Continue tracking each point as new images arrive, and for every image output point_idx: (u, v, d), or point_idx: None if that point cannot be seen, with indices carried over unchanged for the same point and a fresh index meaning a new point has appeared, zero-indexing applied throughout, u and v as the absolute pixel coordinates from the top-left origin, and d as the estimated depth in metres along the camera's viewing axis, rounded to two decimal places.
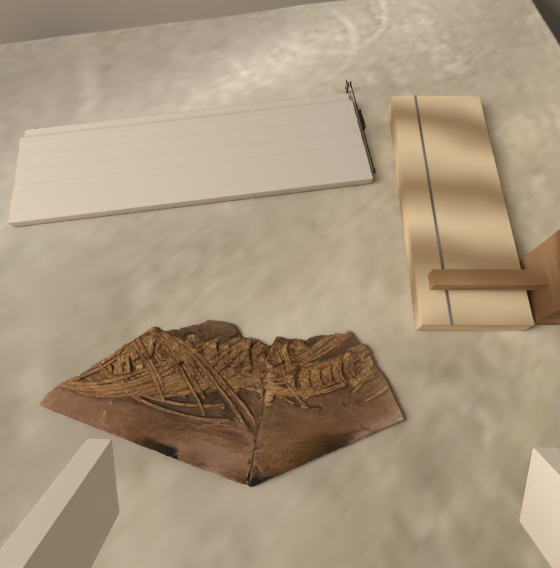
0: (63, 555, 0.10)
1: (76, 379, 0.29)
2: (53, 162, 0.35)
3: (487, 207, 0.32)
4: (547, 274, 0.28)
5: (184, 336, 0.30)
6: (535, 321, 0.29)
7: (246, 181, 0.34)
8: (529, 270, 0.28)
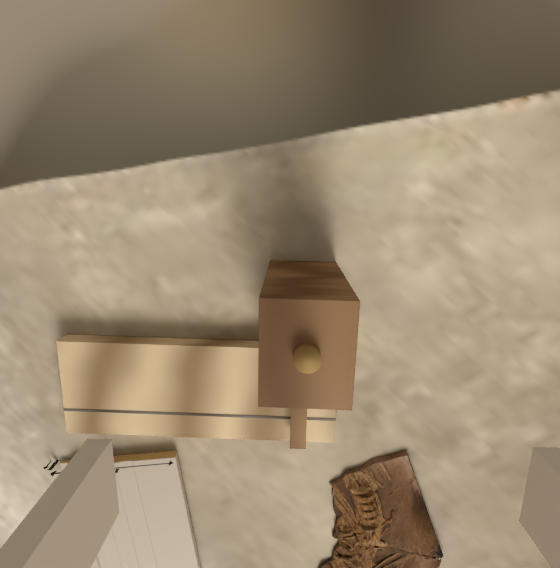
0: (63, 555, 0.10)
1: None
2: None
3: (211, 364, 0.31)
4: None
5: None
6: None
7: (182, 561, 0.36)
8: None
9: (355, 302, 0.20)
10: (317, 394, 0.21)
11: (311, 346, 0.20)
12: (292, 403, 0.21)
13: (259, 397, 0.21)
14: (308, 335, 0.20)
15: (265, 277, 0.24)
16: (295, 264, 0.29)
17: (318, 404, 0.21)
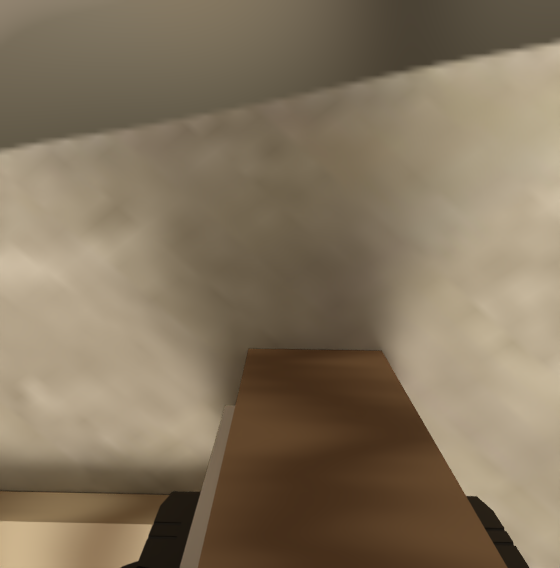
0: None
1: None
2: None
3: (134, 555, 0.15)
4: None
5: None
6: None
7: None
8: None
9: None
10: None
11: None
12: None
13: None
14: None
15: (223, 457, 0.09)
16: (300, 367, 0.13)
17: None
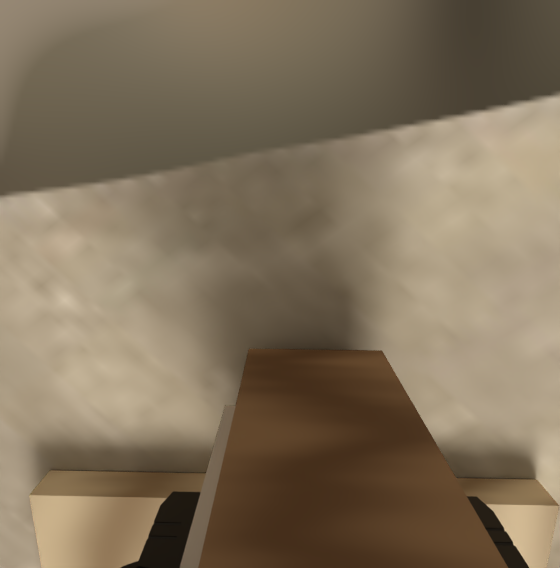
0: None
1: None
2: None
3: None
4: None
5: None
6: None
7: None
8: None
9: None
10: None
11: None
12: None
13: None
14: None
15: (224, 457, 0.09)
16: (300, 367, 0.13)
17: None
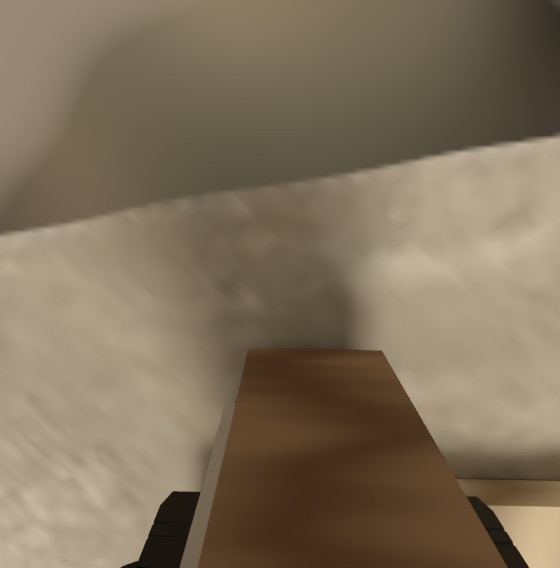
0: None
1: None
2: None
3: None
4: None
5: None
6: None
7: None
8: None
9: None
10: None
11: None
12: None
13: None
14: None
15: (223, 457, 0.09)
16: (300, 366, 0.13)
17: None
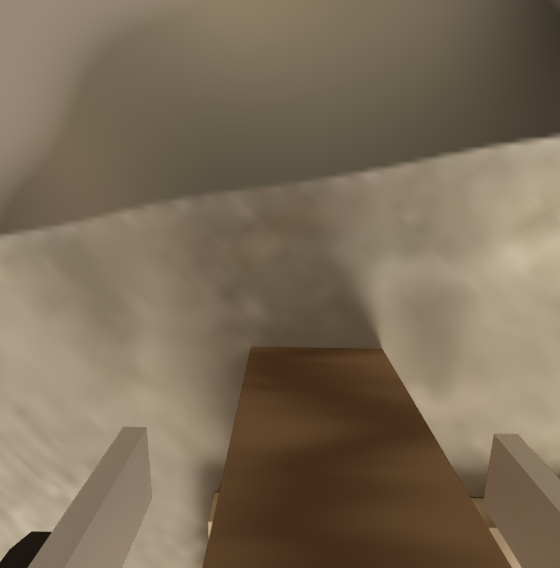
0: (110, 533, 0.10)
1: None
2: None
3: None
4: None
5: None
6: None
7: None
8: None
9: None
10: None
11: None
12: None
13: None
14: None
15: (228, 451, 0.09)
16: (302, 364, 0.14)
17: None
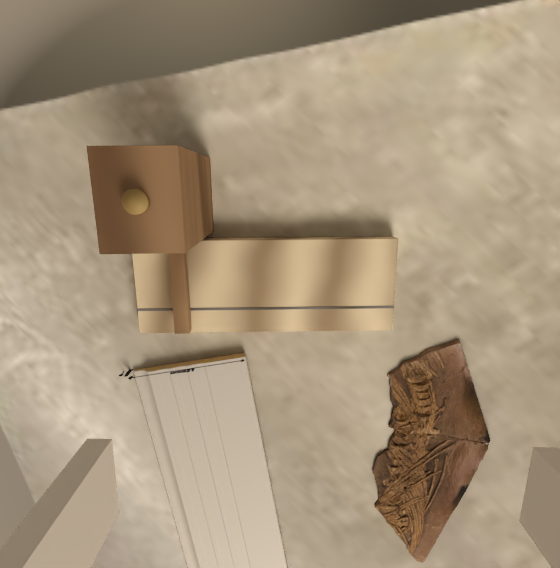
0: (63, 555, 0.10)
1: (409, 546, 0.42)
2: None
3: (278, 257, 0.33)
4: None
5: (384, 486, 0.40)
6: (212, 231, 0.33)
7: (252, 460, 0.38)
8: None
9: (174, 146, 0.22)
10: (152, 239, 0.23)
11: (138, 189, 0.22)
12: (131, 249, 0.23)
13: (100, 244, 0.23)
14: (136, 181, 0.22)
15: None
16: None
17: (154, 248, 0.23)
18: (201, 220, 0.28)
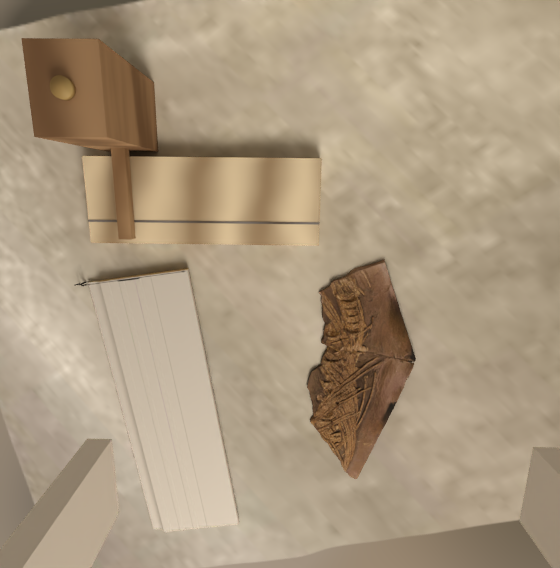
0: (63, 555, 0.10)
1: (343, 462, 0.45)
2: (185, 506, 0.46)
3: (213, 174, 0.37)
4: (114, 147, 0.34)
5: (318, 401, 0.43)
6: (155, 150, 0.37)
7: (195, 370, 0.42)
8: (112, 161, 0.35)
9: (95, 40, 0.26)
10: (78, 123, 0.27)
11: (64, 76, 0.26)
12: (60, 133, 0.27)
13: (34, 128, 0.27)
14: (63, 70, 0.26)
15: None
16: None
17: (80, 132, 0.27)
18: (136, 127, 0.32)
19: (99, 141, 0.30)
